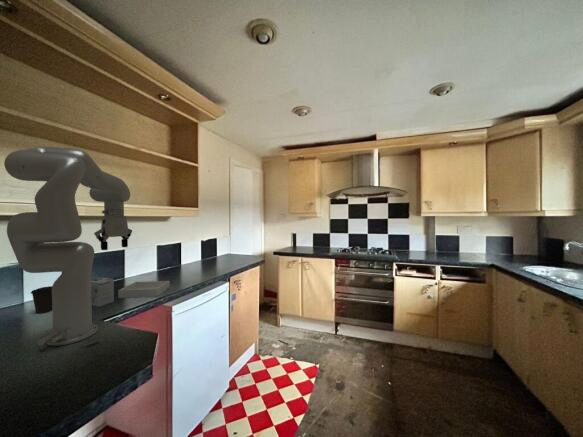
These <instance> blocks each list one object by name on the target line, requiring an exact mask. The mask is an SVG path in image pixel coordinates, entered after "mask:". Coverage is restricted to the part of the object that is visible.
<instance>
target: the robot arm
mask: <svg viewBox="0 0 583 437" xmlns="http://www.w3.org/2000/svg"><path fill="white" fill-rule="evenodd" d="M3 163H4V169H5V170H6V172H7V174H8V175H10V177H13V179H16V180H20V181H24V182H25V181H26V182H45V183H44V184H43V185H42V186H41V187H40V188H39V189H38V191H37V192H36V194H35V195H34V205H35V208H36V211H28V212H27V211H26V212H19V213H17V214H15V215H12V217H10V219H9V221H8V222H7V226H6V235H7V238H8V241H9V243H10V246H11V249H12V251H13V254H14V256H15V257H16V261H17V262H18V265H19V267H20V268H21V269H22V270H23V271H25V273H29V274H41V273H45V274H46V273H61V274H60V275H59V276H58V277H57V278H56V279H55V281H54V282H53V284H52V311H51V312H52V315H51V316H52V328H51V329H49V334H48V335H47V336H44V337H42V338H41V339H38V341H37V345H38V346H40V347H42V346H44V345H48V346H51V347H57V346H59V347H60V346H65V345H70V344H74V343H77V342H80V341H82V340H85V339H87V338H89V337H91V336H93V335H95V333H97V332H98V329H99V326H98V324H96V323H93V310H92V309H93V305H92V295H91V279H92V271H93V270H92V269H93V263H94V259H95V249H94V247H93V245H91V244H89V243H88V242H83V241H75V240H77V239H79V238H80V237H81V236H82V232H83V228H82V223H81V219H80V216H79V212H78V208H77V203H76V193H77V191H78V189H79V186H80V184H81V185H82V186H83V187H86V188H89V192H88V193H89V197H90V198H91V199H92V200H93V201H94V202H99V203H103V207H104V208H103V209H104V210H102V211H101V214H103V216H102V220H101V226H100V229H98V230H96V231H95V232H94V233H93V235H94V236H95V237H96V239H97V240H98V242H100V250H101V251H108V246H109V244H108V239H109V238H119V237H121V247H122V248H128V247H129V244H128V241H129V239H130V237H131V236H132V232H133V230H132V229H130V228H129V225H128V219H127V216H126V215H125V202H128V201H129V200H130V198H131V191H130V188H129V187H128V184H126V183H125V181H124V180H123V179H122V178H120V177H118V176H115V175H113V174H110V173H108V172H105V171H103V170H102V169H101V168H100V167H99V166H98V164H97V163H96V162H95V160H93V158H92V157H91V156H90V155H89V154H88V153H87V152H86V151H84V150H81V149H77V148H72V147H71V148H69V147H57V146H56V147H55V146H39V147H32V148H27V149H21V150H15V151H14V150H13V151H12V152H10V153H8V155H6V157H5V159H4V162H3Z"/></svg>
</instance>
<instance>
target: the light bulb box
mask: <svg viewBox="0 0 583 437" xmlns="http://www.w3.org/2000/svg"><path fill="white" fill-rule="evenodd" d="M114 282H115V280H114V279H113V278H108V277H101V276H98V277H95V278H91V295H92V307H98V308H99V307H102V306H105V305H109V304H111V303H115V283H114Z"/></svg>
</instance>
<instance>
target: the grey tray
mask: <svg viewBox="0 0 583 437" xmlns="http://www.w3.org/2000/svg"><path fill="white" fill-rule="evenodd" d="M170 288H171V282H170V280H156V281H154V280H153V281H134V282H132V283H131V284H128V285H125V286H124V287H122V288H120V289H118V290H117V292H118V293H117V295H118V296H117V297H118V299H140V298H141V297H150V298H157V296H158V295H159V296H161V295H162V294H164V293H165V292H167V291H168V290H169V289H170ZM160 294H161V295H160ZM159 296H158V297H159ZM141 299H142V298H141Z"/></svg>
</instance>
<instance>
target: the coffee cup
mask: <svg viewBox="0 0 583 437" xmlns="http://www.w3.org/2000/svg"><path fill="white" fill-rule="evenodd" d="M52 286H53V285H52ZM52 286H50V285H49V286H43V287H42V286H41V287H39V288H36V289H33V290H31V292H30V294H32V295H31V296H32V299H33V300H32V301H33V305H34V310H35V313H36V314H37V315H39V314H47V313H50V312H52Z"/></svg>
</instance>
